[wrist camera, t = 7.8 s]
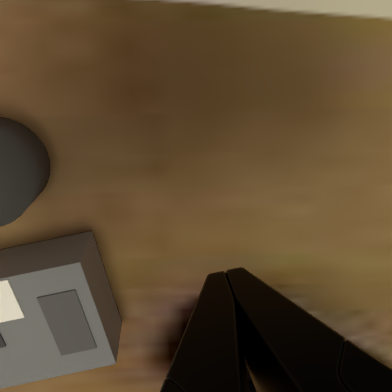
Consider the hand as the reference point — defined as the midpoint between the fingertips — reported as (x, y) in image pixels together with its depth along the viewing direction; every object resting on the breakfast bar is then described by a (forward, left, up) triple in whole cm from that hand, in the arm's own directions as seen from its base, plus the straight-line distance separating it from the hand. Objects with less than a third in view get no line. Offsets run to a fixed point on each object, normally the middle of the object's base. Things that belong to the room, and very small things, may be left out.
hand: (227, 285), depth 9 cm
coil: (+2, +10, -13) cm, 16 cm away
